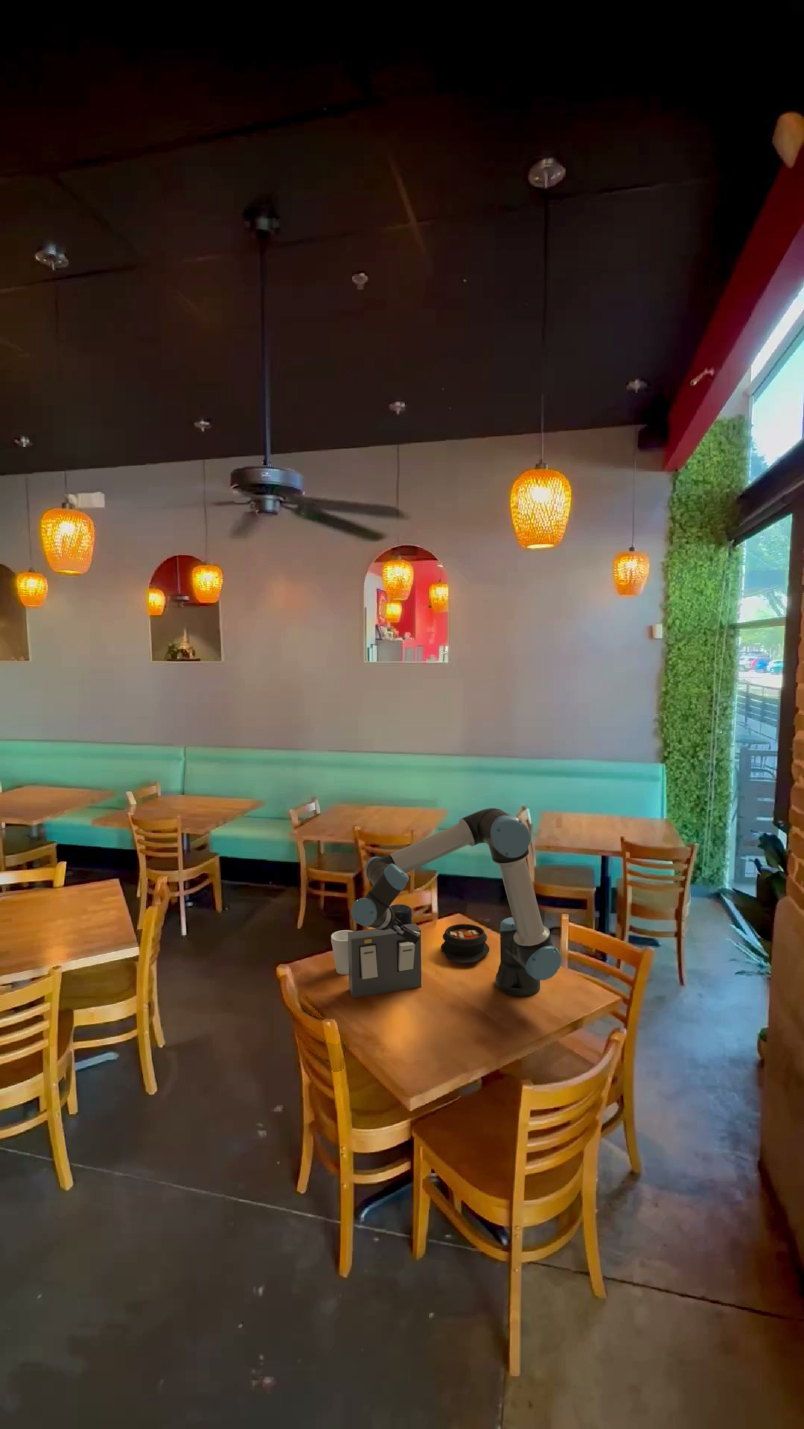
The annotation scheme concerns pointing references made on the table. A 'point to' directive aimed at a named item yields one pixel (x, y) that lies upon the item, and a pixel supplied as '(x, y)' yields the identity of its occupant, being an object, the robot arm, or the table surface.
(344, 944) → the foam cup
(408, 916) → the canister
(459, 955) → the casserole
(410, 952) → the right rocker
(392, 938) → the switch panel
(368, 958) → the left rocker
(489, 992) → the table surface
